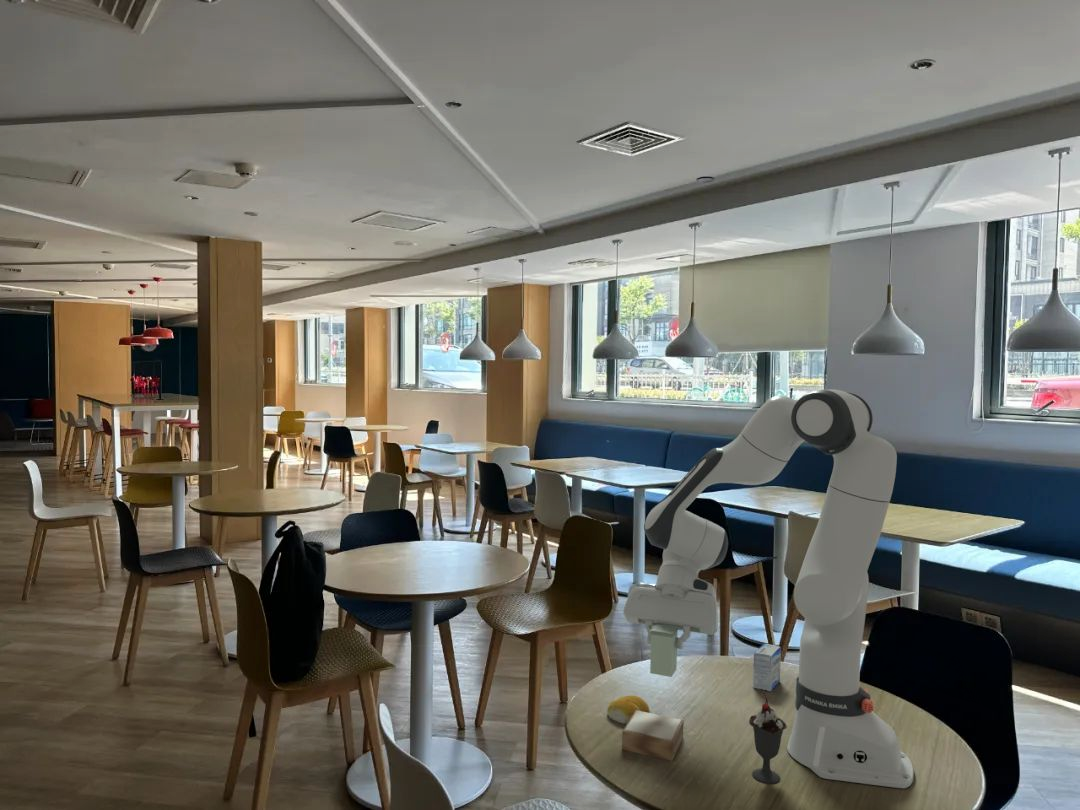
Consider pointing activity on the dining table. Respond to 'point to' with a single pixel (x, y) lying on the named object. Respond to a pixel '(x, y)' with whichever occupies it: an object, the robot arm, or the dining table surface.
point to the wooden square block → (652, 735)
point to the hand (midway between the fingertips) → (664, 645)
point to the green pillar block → (663, 650)
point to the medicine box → (766, 667)
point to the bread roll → (626, 708)
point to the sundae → (767, 741)
